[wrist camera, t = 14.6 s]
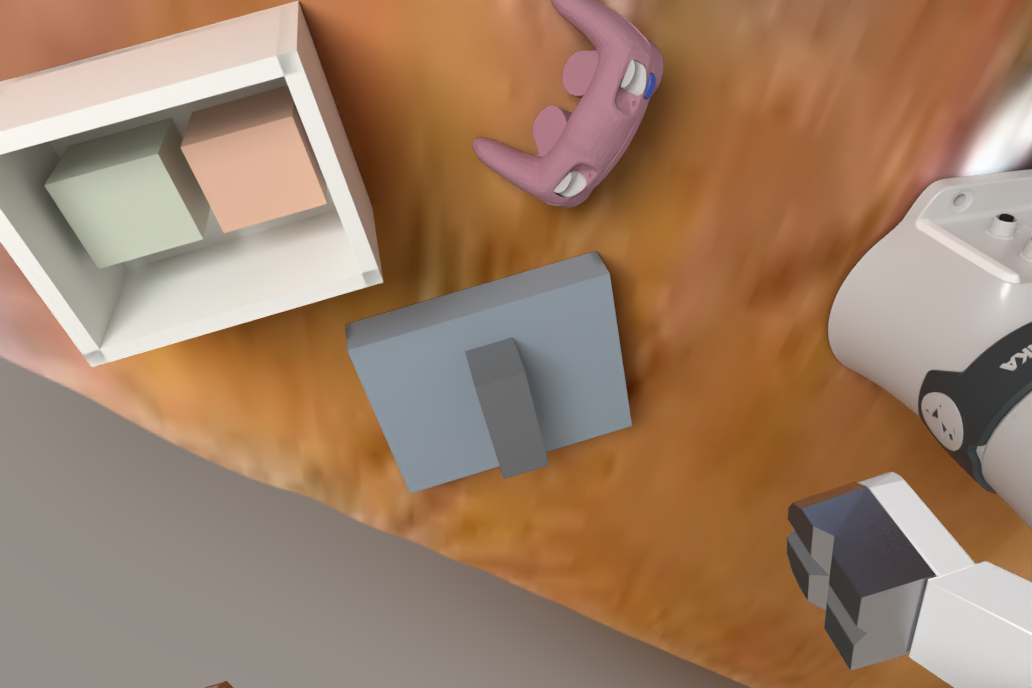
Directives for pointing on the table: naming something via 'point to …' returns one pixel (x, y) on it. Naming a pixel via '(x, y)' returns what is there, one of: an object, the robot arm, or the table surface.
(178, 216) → the storage box
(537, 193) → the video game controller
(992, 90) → the table surface
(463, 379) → the lid
